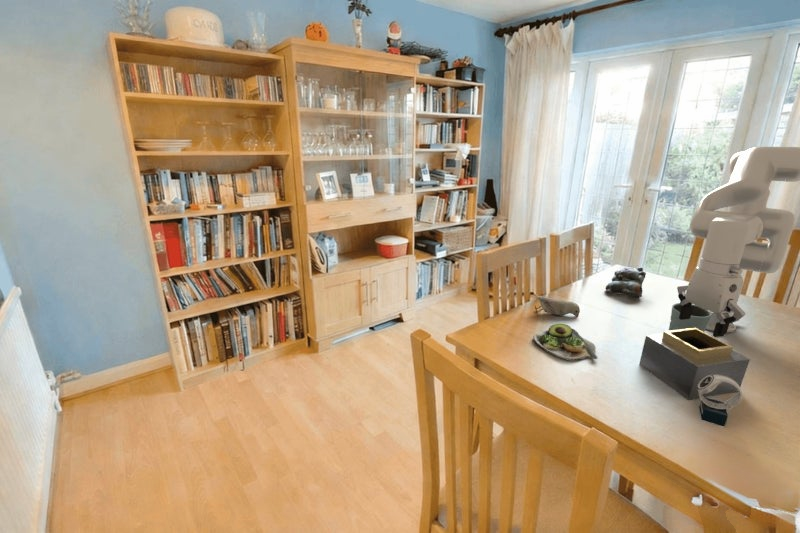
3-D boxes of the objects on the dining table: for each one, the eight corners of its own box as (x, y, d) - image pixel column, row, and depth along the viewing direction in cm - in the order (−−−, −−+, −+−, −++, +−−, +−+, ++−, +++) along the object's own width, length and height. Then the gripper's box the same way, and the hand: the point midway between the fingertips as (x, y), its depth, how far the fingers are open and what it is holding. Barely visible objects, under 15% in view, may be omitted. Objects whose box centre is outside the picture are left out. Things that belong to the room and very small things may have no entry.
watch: (689, 403, 95) (700, 366, 91) (730, 415, 91) (743, 377, 87) (691, 417, 90) (702, 378, 87) (734, 430, 86) (748, 390, 83)
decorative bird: (580, 320, 138) (583, 302, 136) (534, 316, 142) (536, 298, 139) (577, 314, 143) (579, 296, 141) (533, 310, 147) (535, 292, 144)
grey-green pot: (695, 337, 126) (704, 305, 122) (707, 353, 117) (717, 318, 113) (660, 332, 129) (668, 301, 125) (669, 347, 120) (678, 314, 116)
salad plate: (614, 357, 116) (617, 344, 114) (572, 371, 109) (574, 357, 107) (565, 329, 132) (566, 317, 131) (525, 340, 126) (527, 328, 124)
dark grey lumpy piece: (597, 290, 164) (605, 260, 165) (617, 298, 167) (625, 269, 168) (627, 294, 150) (636, 261, 151) (649, 302, 153) (657, 270, 154)
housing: (684, 358, 114) (694, 322, 110) (738, 391, 99) (752, 351, 95) (639, 365, 111) (647, 327, 107) (688, 400, 96) (700, 358, 92)
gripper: (767, 277, 87) (746, 342, 93) (698, 255, 103) (683, 311, 109) (741, 280, 85) (721, 345, 91) (675, 257, 102) (661, 314, 107)
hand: (700, 327), depth 100 cm, fingers open, 9 cm apart
